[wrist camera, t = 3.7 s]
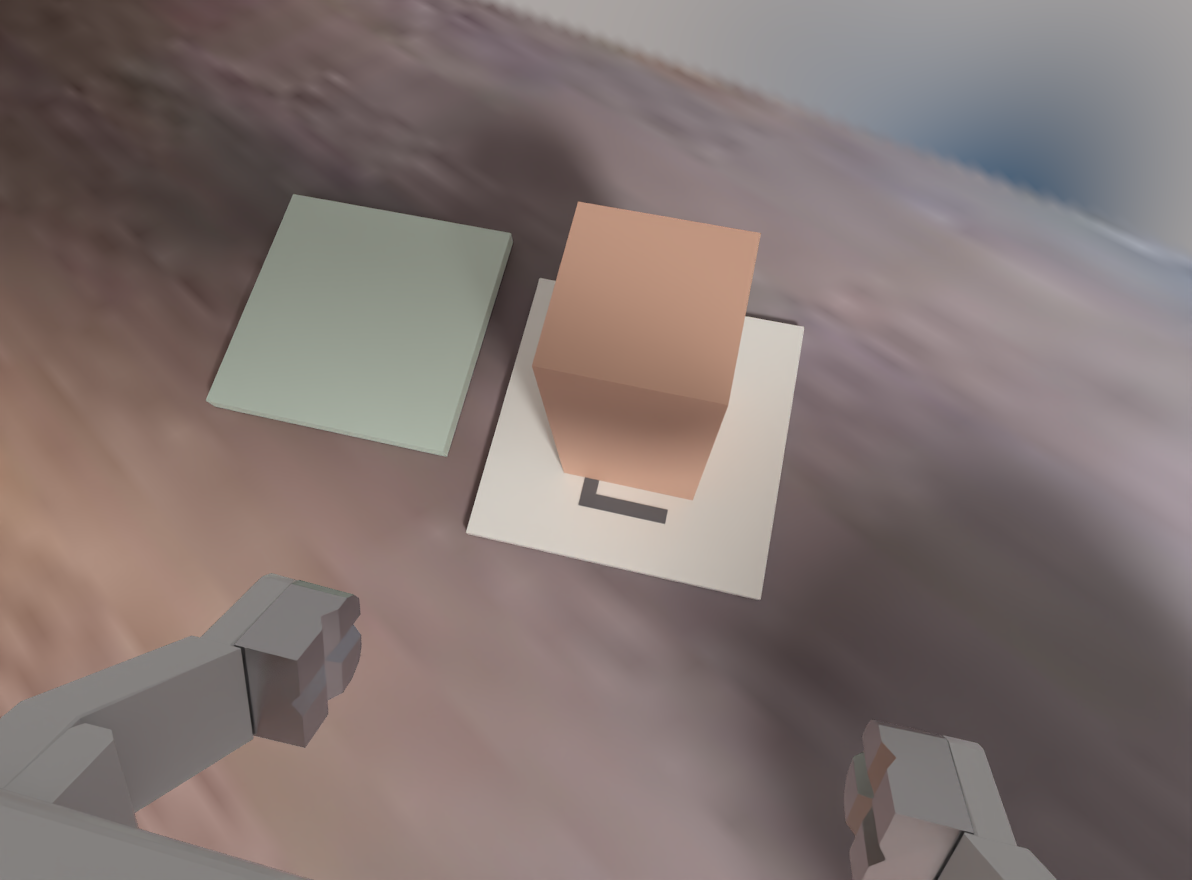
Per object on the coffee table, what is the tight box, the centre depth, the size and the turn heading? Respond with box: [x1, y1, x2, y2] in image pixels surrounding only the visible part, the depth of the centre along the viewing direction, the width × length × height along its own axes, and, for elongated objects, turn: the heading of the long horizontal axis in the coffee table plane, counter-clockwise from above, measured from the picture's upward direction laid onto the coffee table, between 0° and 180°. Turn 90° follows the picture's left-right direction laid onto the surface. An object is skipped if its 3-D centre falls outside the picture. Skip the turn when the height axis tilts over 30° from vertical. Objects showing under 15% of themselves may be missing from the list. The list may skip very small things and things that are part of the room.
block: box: [532, 202, 761, 500], centre depth 21 cm, size 4×4×9 cm
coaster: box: [206, 194, 513, 457], centre depth 27 cm, size 9×9×1 cm
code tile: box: [466, 278, 804, 600], centre depth 26 cm, size 10×10×1 cm
